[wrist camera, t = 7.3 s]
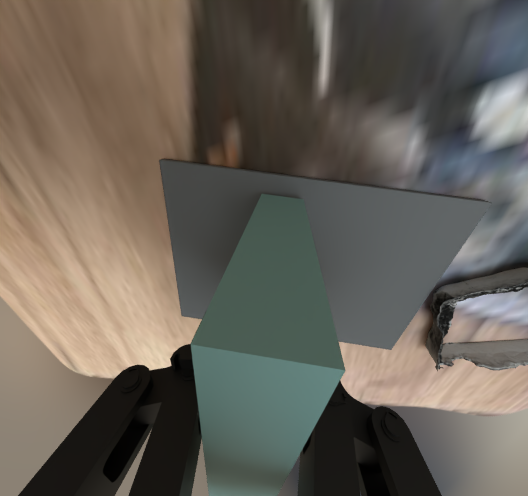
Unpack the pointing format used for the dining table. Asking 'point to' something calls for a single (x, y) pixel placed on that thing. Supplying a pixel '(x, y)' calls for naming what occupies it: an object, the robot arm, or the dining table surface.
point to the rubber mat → (321, 241)
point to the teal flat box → (265, 354)
